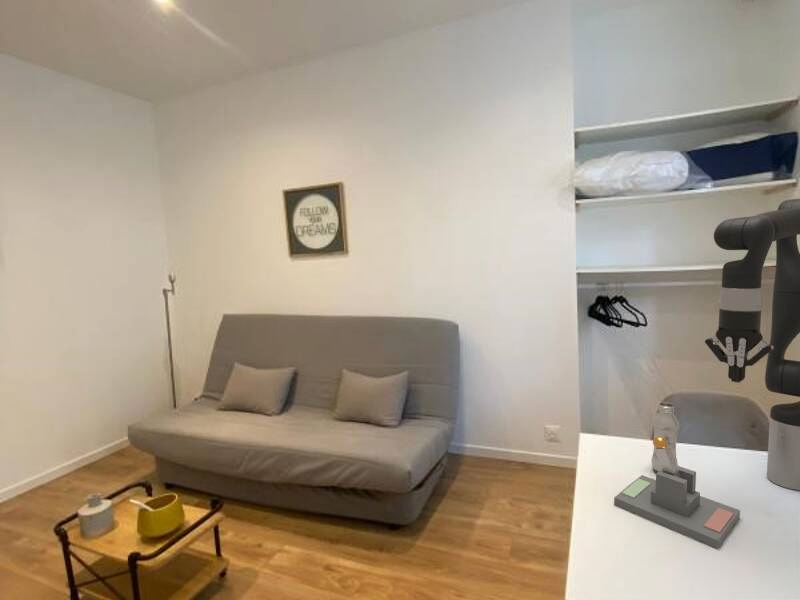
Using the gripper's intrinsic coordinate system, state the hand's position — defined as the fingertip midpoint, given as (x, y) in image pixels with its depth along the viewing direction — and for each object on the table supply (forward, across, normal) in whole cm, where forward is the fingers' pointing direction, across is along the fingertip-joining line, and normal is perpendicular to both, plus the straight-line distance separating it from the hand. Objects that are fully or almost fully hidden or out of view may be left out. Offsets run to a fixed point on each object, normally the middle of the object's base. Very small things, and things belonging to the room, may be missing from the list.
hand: (736, 381), depth 101 cm
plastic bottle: (+33, +18, -10) cm, 39 cm away
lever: (+27, +9, +8) cm, 30 cm away
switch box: (+33, +9, +8) cm, 35 cm away
